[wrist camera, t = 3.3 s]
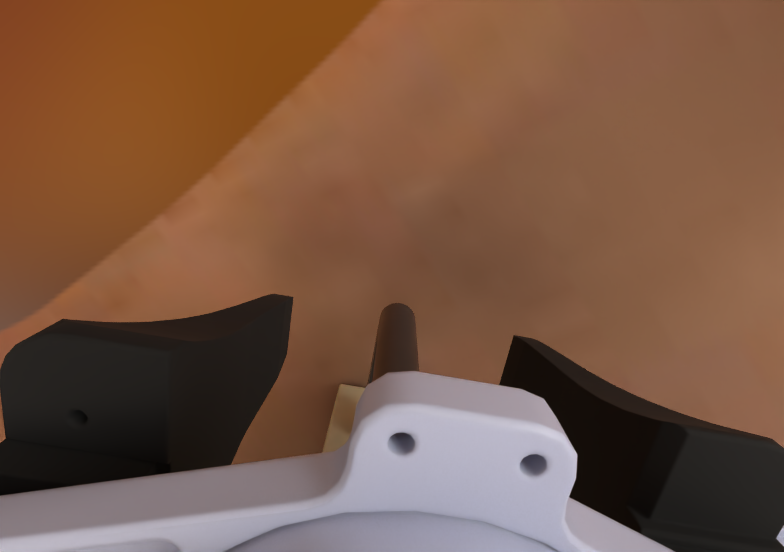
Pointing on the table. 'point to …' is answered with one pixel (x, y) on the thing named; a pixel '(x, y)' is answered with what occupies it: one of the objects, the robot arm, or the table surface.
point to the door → (376, 368)
